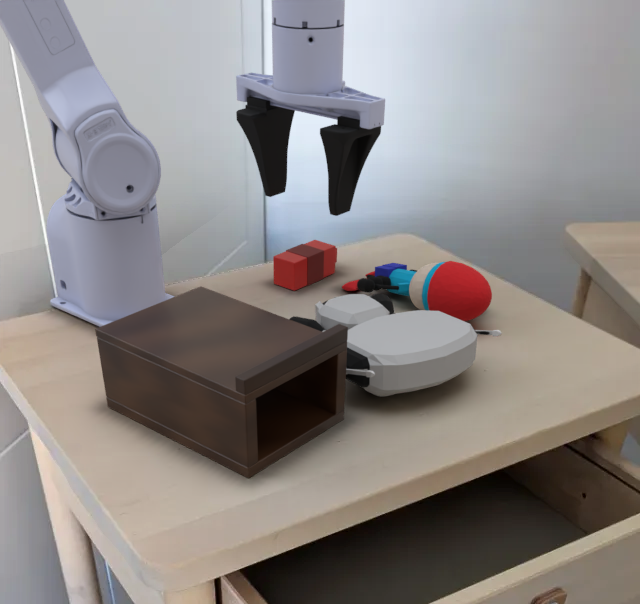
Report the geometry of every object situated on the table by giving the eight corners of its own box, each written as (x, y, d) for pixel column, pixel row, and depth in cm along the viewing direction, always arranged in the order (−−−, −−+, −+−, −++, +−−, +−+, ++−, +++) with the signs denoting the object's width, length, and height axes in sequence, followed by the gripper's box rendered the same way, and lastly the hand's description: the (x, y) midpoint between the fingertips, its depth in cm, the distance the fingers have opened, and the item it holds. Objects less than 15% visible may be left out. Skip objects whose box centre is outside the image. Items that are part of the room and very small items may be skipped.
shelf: (107, 406, 62) (92, 314, 57) (206, 359, 68) (199, 272, 63) (248, 478, 55) (244, 380, 50) (344, 419, 61) (348, 326, 56)
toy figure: (335, 308, 79) (456, 337, 69) (334, 252, 77) (459, 274, 67) (394, 295, 83) (516, 320, 73) (394, 242, 81) (521, 260, 71)
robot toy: (262, 360, 69) (376, 428, 59) (258, 305, 67) (377, 367, 57) (380, 326, 75) (502, 382, 65) (381, 274, 72) (509, 324, 62)
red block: (272, 284, 80) (272, 255, 78) (320, 263, 84) (321, 235, 82) (294, 291, 78) (294, 262, 77) (342, 270, 82) (343, 242, 81)
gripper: (412, 28, 66) (399, 210, 75) (273, 8, 73) (276, 176, 82) (356, 39, 62) (349, 230, 71) (215, 17, 69) (224, 193, 78)
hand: (306, 203), depth 76 cm, fingers open, 7 cm apart
